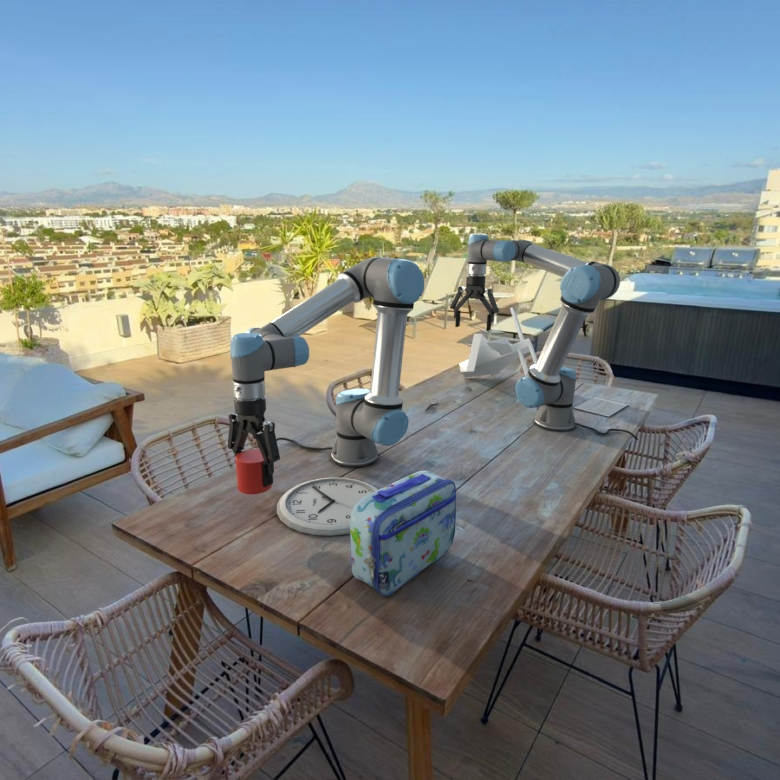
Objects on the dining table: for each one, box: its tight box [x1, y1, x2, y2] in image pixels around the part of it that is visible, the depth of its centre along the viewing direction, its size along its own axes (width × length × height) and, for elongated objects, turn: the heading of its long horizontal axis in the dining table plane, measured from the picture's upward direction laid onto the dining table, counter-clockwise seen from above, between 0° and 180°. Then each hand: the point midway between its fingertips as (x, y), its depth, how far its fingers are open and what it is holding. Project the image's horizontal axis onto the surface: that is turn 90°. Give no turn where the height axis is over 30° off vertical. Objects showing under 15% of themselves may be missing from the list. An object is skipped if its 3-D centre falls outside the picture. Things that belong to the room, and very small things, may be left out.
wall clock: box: [276, 476, 380, 537], centre depth 142 cm, size 30×2×30 cm
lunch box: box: [349, 470, 457, 597], centre depth 114 cm, size 26×11×21 cm, turn 134°
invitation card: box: [573, 396, 629, 418], centre depth 226 cm, size 21×1×15 cm
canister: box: [234, 448, 273, 495], centre depth 134 cm, size 9×9×9 cm
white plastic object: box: [458, 306, 538, 378], centre depth 258 cm, size 37×45×31 cm
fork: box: [425, 396, 439, 412], centre depth 222 cm, size 3×16×2 cm, turn 160°
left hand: (254, 480), depth 135 cm, fingers closed on canister, 9 cm apart
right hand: (472, 328), depth 212 cm, fingers open, 13 cm apart
